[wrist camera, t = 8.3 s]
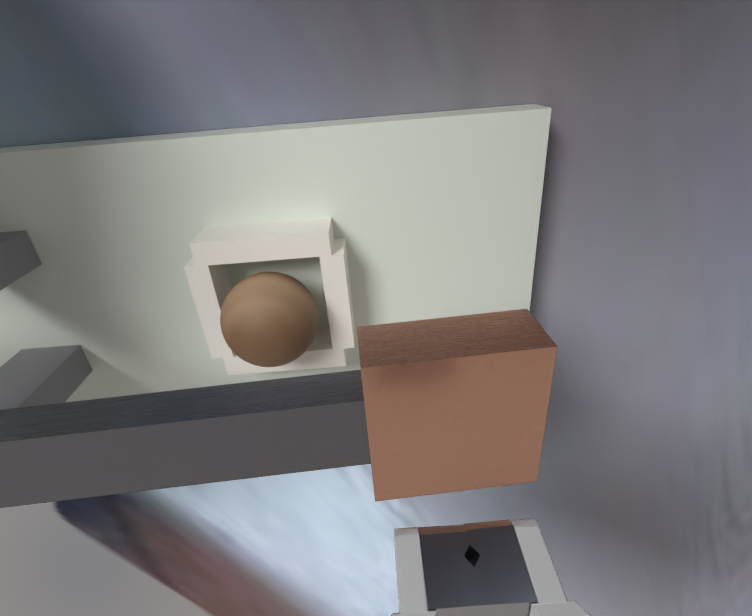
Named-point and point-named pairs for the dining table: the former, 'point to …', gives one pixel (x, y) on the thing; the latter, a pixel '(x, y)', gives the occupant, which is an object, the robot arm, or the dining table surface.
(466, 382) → the lever
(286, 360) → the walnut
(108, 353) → the press base
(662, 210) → the dining table surface
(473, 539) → the robot arm
